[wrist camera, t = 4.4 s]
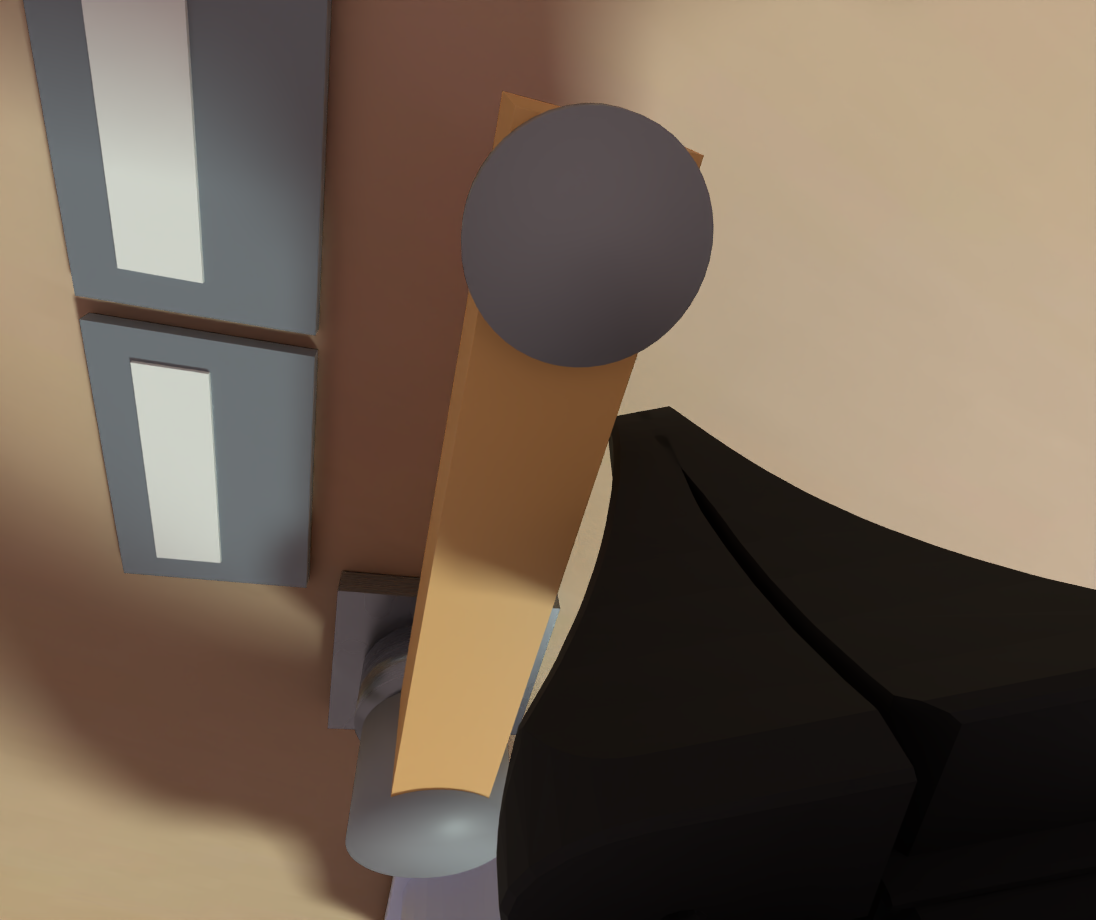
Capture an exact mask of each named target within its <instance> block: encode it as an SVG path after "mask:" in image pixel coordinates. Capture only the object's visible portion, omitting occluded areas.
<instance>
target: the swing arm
mask: <svg viewBox="0 0 1096 920" xmlns="http://www.w3.org/2000/svg"><path fill="white" fill-rule="evenodd" d="M703 157H704V155H701V154H699V153H697V152H695V151H693V150H690V149H688V148H686V147H684V146H683V145H682V144H681V143H680V142H679V141H678V140H677V138H676V137H675V136H674V135H672V134H671V133H670V132H669V131H667V130H666V129H665V128H663V127H662V126H661V125H659V124H658V123H656V122H654V121H652V120H650V119H648V118H647V117H645V116H643V115H640V114H638V113H635V112H632V111H629V110H627V109H624V108H621V107H617V106H612V105H607V104H598V103H581V104H572V105H566V106H562V107H561V106H557V105H553V104H549V103H546V102H542V101H538V100H534V99H531V98H527V97H523V96H519V95H516V94H512V93H508V92H504V91H502V97H501V103H500V109H499V114H498V120H497V126H496V132H495V138H494V144H493V150H492V152H491V153H490V154H489V156H488V157H487V159H486V160H485V162H484V163H483V165H482V166H481V168H480V170H479V171H478V173H477V175H476V177H475V179H474V181H473V183H472V186H471V189H470V192H469V194H468V197H467V200H466V205H465V209H464V214H463V220H462V232H461V250H462V263H463V269H464V275H465V278H466V282H467V285H468V288H469V292H468V298H467V304H466V310H465V316H464V322H463V328H462V334H461V340H460V346H459V352H458V358H457V364H456V370H455V375H454V381H453V387H452V393H451V399H450V405H449V411H448V417H447V423H446V429H445V435H444V441H443V447H442V453H441V458H440V464H439V470H438V476H437V482H436V488H435V494H434V500H433V506H432V512H431V518H430V524H429V530H428V536H427V542H426V547H425V553H424V559H423V565H422V571H421V577H420V583H419V589H418V595H417V601H416V607H415V613H414V619H413V625H412V630H411V636H410V642H409V648H408V654H407V660H406V666H405V672H404V678H403V684H402V690H401V693H398V694H395V695H393V696H391V697H389V698H387V699H385V700H384V701H382V702H381V703H379V704H378V705H377V706H375V707H374V708H373V709H372V710H371V711H370V713H369V714H368V715H367V717H366V719H365V721H364V723H363V727H362V733H361V740H360V747H359V753H358V760H357V767H356V773H355V780H354V787H353V793H352V800H351V807H350V813H349V820H348V827H347V833H346V848H347V851H348V853H349V854H350V856H351V857H352V858H353V859H354V860H355V861H356V862H358V863H359V864H360V865H362V866H364V867H366V868H368V869H370V870H372V871H375V872H378V873H381V874H385V875H390V876H396V877H405V878H433V877H442V876H448V875H453V874H457V873H461V872H465V871H468V870H471V869H474V868H476V867H479V866H481V865H483V864H485V863H487V862H489V861H491V860H492V859H494V858H495V857H496V850H497V835H498V824H499V815H500V809H501V802H502V796H503V791H504V786H505V781H506V776H507V771H508V767H509V753H508V740H509V737H510V734H511V731H512V728H513V725H514V722H515V719H516V716H517V713H518V710H519V707H520V704H521V701H522V698H523V695H524V692H525V689H526V686H527V683H528V680H529V677H530V674H531V671H532V668H533V665H534V662H535V659H536V656H537V653H538V650H539V647H540V644H541V641H542V638H543V635H544V632H545V629H546V626H547V623H548V620H549V617H550V614H551V611H552V608H553V605H554V602H555V599H556V596H557V593H558V590H559V587H560V584H561V581H562V578H563V575H564V572H565V569H566V566H567V563H568V560H569V557H570V554H571V551H572V548H573V545H574V542H575V539H576V536H577V533H578V530H579V527H580V524H581V521H582V518H583V515H584V512H585V509H586V506H587V503H588V500H589V497H590V494H591V491H592V488H593V485H594V482H595V479H596V476H597V473H598V470H599V468H600V465H601V462H602V459H603V456H604V453H605V450H606V447H607V444H608V441H609V438H610V435H611V432H612V429H613V426H614V423H615V420H616V417H617V414H618V411H619V408H620V405H621V402H622V399H623V396H624V393H625V390H626V387H627V384H628V381H629V378H630V375H631V372H632V369H633V366H634V363H635V360H636V357H637V354H638V352H640V351H642V350H644V349H645V348H647V347H648V346H650V345H651V344H653V343H654V342H656V341H657V340H659V339H660V338H661V337H662V336H663V335H664V334H666V333H667V332H668V331H669V330H670V329H671V328H672V327H673V326H674V325H675V324H676V323H677V322H678V320H679V319H680V318H681V317H682V316H683V314H684V313H685V312H686V310H687V309H688V307H689V306H690V305H691V303H692V301H693V299H694V298H695V296H696V294H697V293H698V291H699V288H700V286H701V284H702V281H703V279H704V277H705V274H706V270H707V267H708V264H709V261H710V255H711V250H712V244H713V214H712V206H711V201H710V197H709V192H708V189H707V187H706V184H705V181H704V178H703V176H702V174H701V172H700V170H699V169H700V166H701V163H702V160H703Z"/></svg>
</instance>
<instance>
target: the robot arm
mask: <svg viewBox="0 0 1096 920" xmlns="http://www.w3.org/2000/svg"><path fill="white" fill-rule="evenodd" d="M609 450H610V459H611V468H612V477H613V480H612V491H611V498H610V504H609V509H608V515H607V521H606V526H605V530H604V535H603V539H602V543H601V547H600V550H599V554H598V557H597V561H596V564H595V567H594V570H593V573H592V576H591V579H590V582H589V585H588V587H587V590H586V593H585V596H584V599H583V601H582V604H581V606H580V609H579V611H578V614H577V616H576V618H575V620H574V623H573V625H572V627H571V629H570V631H569V633H568V635H567V638H566V640H565V642H564V644H563V646H562V648H561V650H560V653H559V655H558V657H557V659H556V661H555V663H554V665H553V667H552V669H551V671H550V672H549V674H548V676H547V678H546V679H545V681H544V683H543V685H542V686H541V688H540V690H539V692H538V693H537V695H536V697H535V698H534V700H533V702H532V704H531V705H530V707H529V709H528V711H527V712H526V714H525V716H524V717H523V719H522V721H521V723H520V724H519V726H518V728H517V733H516V737H515V741H514V746H513V750H512V754H511V758H510V762H509V767H508V771H507V776H506V781H505V786H504V791H503V796H502V802H501V809H500V815H499V824H498V835H497V850H496V857H495V858H494V859H492V860H491V861H489V862H487V863H485V864H483V865H481V866H479V867H476V868H474V869H471V870H468V871H465V872H461V873H457V874H453V875H448V876H442V877H433V878H405V877H396V876H393V880H392V884H391V889H390V894H389V899H388V903H387V908H386V913H385V918H384V920H1096V590H1094V589H1090V588H1085V587H1081V586H1077V585H1072V584H1068V583H1064V582H1059V581H1055V580H1050V579H1046V578H1042V577H1039V576H1035V575H1031V574H1027V573H1024V572H1020V571H1017V570H1013V569H1010V568H1006V567H1003V566H999V565H996V564H992V563H989V562H985V561H982V560H978V559H975V558H972V557H969V556H965V555H962V554H959V553H956V552H953V551H950V550H947V549H944V548H940V547H937V546H934V545H932V544H929V543H926V542H923V541H921V540H918V539H915V538H912V537H910V536H907V535H904V534H901V533H899V532H896V531H893V530H890V529H888V528H885V527H883V526H880V525H878V524H875V523H873V522H870V521H868V520H865V519H863V518H860V517H858V516H856V515H854V514H852V513H849V512H847V511H845V510H843V509H840V508H838V507H836V506H834V505H832V504H829V503H827V502H825V501H823V500H821V499H819V498H817V497H815V496H813V495H811V494H809V493H807V492H805V491H803V490H801V489H799V488H797V487H795V486H793V485H791V484H790V483H788V482H786V481H784V480H782V479H781V478H779V477H777V476H775V475H773V474H772V473H770V472H768V471H766V470H765V469H763V468H761V467H760V466H758V465H756V464H755V463H753V462H751V461H750V460H748V459H746V458H745V457H743V456H742V455H740V454H738V453H737V452H735V451H734V450H732V449H731V448H729V447H728V446H726V445H725V444H723V443H722V442H720V441H719V440H717V439H716V438H714V437H713V436H711V435H710V434H708V433H707V432H706V431H704V430H703V429H701V428H700V427H698V426H697V425H696V424H694V423H693V422H691V421H690V420H688V419H687V418H686V417H684V416H683V415H681V414H680V413H679V412H677V411H676V410H674V409H673V408H671V407H670V406H668V407H663V408H657V409H652V410H647V411H641V412H636V413H630V414H625V415H620V416H617V417H616V420H615V423H614V426H613V429H612V432H611V435H610V438H609Z"/></svg>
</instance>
